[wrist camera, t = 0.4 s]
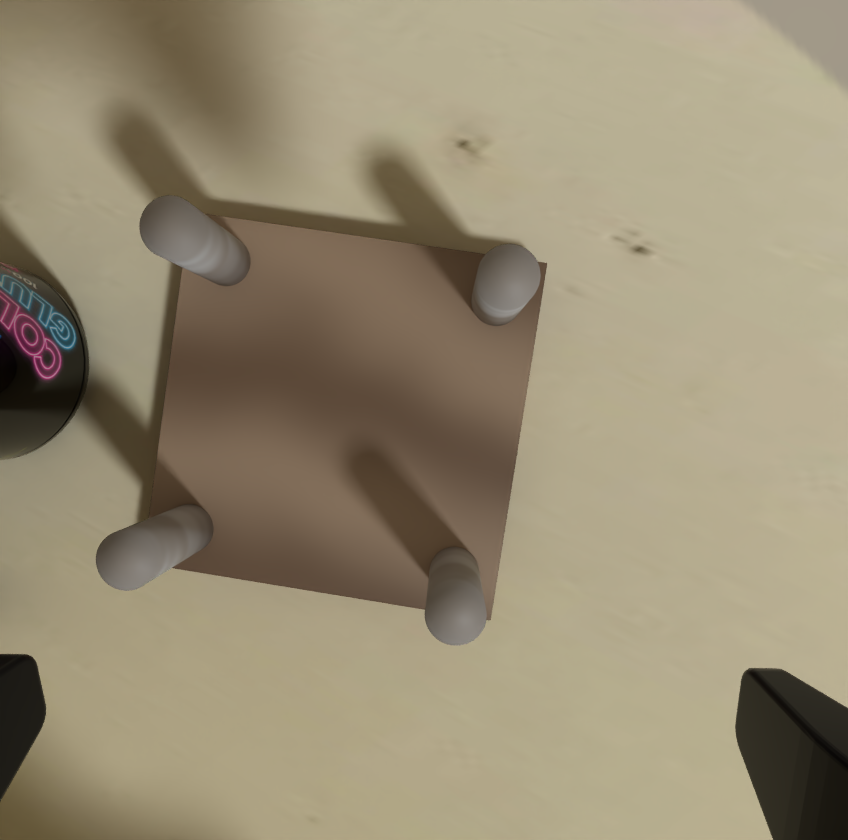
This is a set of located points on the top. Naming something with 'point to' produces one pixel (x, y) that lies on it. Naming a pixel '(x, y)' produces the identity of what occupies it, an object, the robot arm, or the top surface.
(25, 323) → the supplement container
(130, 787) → the top surface
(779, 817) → the robot arm
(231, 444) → the cradle
